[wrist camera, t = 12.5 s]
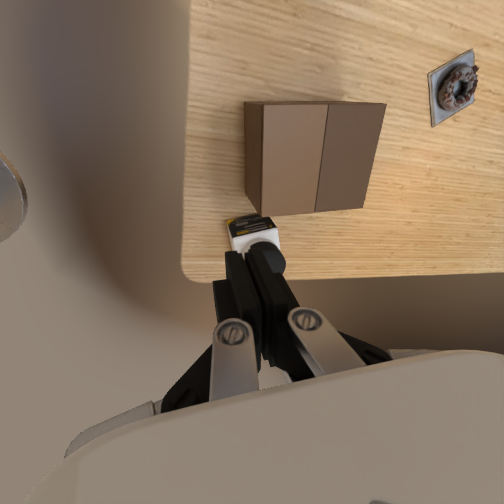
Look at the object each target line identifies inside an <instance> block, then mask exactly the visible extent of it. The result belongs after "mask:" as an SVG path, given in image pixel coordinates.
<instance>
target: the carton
mask: <svg viewBox="0 0 504 504" xmlns="http://www.w3.org/2000/svg"><path fill="white" fill-rule="evenodd" d="M301 104H328V110H327V118H326V126H325V133H324V141H323V148H322V156H321V164H320V171H319V179H318V186H317V194H316V202H315V209H314V212H325V211H336V210H347V209H358V208H363V204H364V200H365V196H366V191H367V187H368V183H369V178H370V174H371V170H372V166H373V161H374V157H375V153H376V148H377V144H378V140H379V135H380V131H381V127H382V122H383V118H384V114H385V109H386V105H387V104H383V103H368V102H348V101H286V102H244V137H245V193H246V195H247V196H248V198H249V200H250V201H251V203H252V204H253V206H254V207H255V209H256V211H257V212H258V214H259V215H261V189H262V139H263V105H301Z"/></svg>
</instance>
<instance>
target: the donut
mask: <svg viewBox="0 0 504 504" xmlns="http://www.w3.org/2000/svg"><path fill="white" fill-rule="evenodd" d="M474 57H475V56H474V51H473V49H470V50H469V51H467V52H465V53H463V54H462V55H460V56H458V57H456V58H455V59H453V60H451V61H449V62H448V63H446V64H445V65H443V66H441V67H439V68H437V69H436V70H434V71H433V72H431V73H429V74H428V83H429V87H430V88H429V89H430V106H431V116H432V128H433V127H435V126H436V125H437V124H439V123H441V122H443V121H444V120H446V119H447V118H449V117H451V116H452V115H454V114H455V113H457V112H458V111H460V110H462V109H463V108H465V107H467V106H468V105H470V104H473V102H474V101H475V99H474V92H475V89H476V87H477V82H478V80H477V76H478V75H476V72H477V71H478V69H479V68H477V66H476V65H475V64H474V62H475V60H474V59H475V58H474ZM474 65H475V66H474Z"/></svg>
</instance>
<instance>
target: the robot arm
mask: <svg viewBox="0 0 504 504" xmlns="http://www.w3.org/2000/svg"><path fill="white" fill-rule="evenodd" d="M225 264H226V279H224V280H217V281H213V292H214V300H215V308H216V315H217V321H218V324H217V326H216V327H215V329H214V332H213V343H212V344H211V345H210V347H209V348H208V349H207V350H206V351H205V352H204V353H203V354H202V355H201V356H200V357H199V358H198V360H197V361H196V362H195V363H194V364H193V365H192V366H191V367H190V368H189V369H188V370H187V371H186V373H185V374H184V375H183V376H182V377H181V378H180V379H179V380H178V381H177V382H176V383H175V385H174V386H173V387H172V388H171V389H170V390H169V391H168V392H167V394H166V395H165V397H164V398H163V399H162V400H160V401H157V402H155V403H153V402H152V401H149V402H147V403H145V404H143V405H140V406H138V407H135V408H133V409H131V410H129V411H126V412H124V413H122V414H120V415H117V416H115V417H113V418H110V419H108V420H106V421H104V422H101V423H99V424H97V425H95V426H92V427H90V428H88V429H86V430H85V431H83V432H81V433H80V434H79V435H78V436H77V437H76V438H75V439H74V440H73V441H72V442H71V444H70V445H69V447H68V449H67V450H66V453H65V456H64V459H63V460H62V461H61V462H60V463H58V464H57V465H56V466H54V467H53V468H52V469H51V470H50V471H49V472H48V473H47V474H45V475H44V476H43V477H42V478H41V480H40V481H39V482H38V483H37V484H36V485H35V486H34V488H33V489H32V490H31V492H30V493H29V494H28V496H27V497H26V499H25V500H24V502H23V504H504V355H501V354H496V353H492V352H485V351H478V350H451V351H438V350H401V349H400V350H399V349H388V351H387V352H385V351H383V350H381V349H380V348H378V347H376V346H373V345H371V344H368V343H366V342H364V341H361V340H359V339H356V338H354V337H351V336H349V335H347V334H344V333H342V332H339V331H337V330H336V329H335V328H334V327H333V326H332V325H331V324H330V322H329V321H328V320H327V319H326V318H325V317H324V316H323V314H322V313H320V312H319V311H318V310H316V309H314V308H311V307H303V306H302V307H300V305H299V304H298V302H297V300H296V298H295V296H294V295H293V293H292V291H291V289H290V288H289V286H288V284H287V282H286V280H285V279H284V277H283V275H282V274H281V272H275V273H273V271H272V269H271V267H270V265H269V264H268V262H267V260H266V258H265V256H264V254H263V252H262V250H261V248H253V249H248V252H245V253H244V258H243V255H242V253H238V252H237V251H228V252H225ZM261 353H262V356H263V359H264V360H268V361H269V364H270V367H274V366H276V367H278V368H280V369H282V370H283V375H284V378H285V380H286V382H287V383H288V384H284V385H280V386H276V387H271V388H267V389H262V390H259V382H258V373H259V371H260V368H261Z"/></svg>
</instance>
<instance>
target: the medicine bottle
mask: <svg viewBox="0 0 504 504" xmlns="http://www.w3.org/2000/svg"><path fill="white" fill-rule="evenodd" d="M226 224H227V228H228V233H229V238H230V242H231V247H232V251H237V252H238V253H242V255H243V258H244V253H245V252H248V249H253V248H261V250H262V252H263V254H264V256H265V258H266V260H267V262H268V264H269V265H270V267H271V269H272V271H273V273H275V272H281V274H283V272H284V270H285V267H286V261H285V258H284V257H283V255H282V253H281V252H280V245H279V235H278V228H277V227H276V225H275V224H274V223H273V221H272V220H271V218H270V217H261V215H259V214H258V213H256V214H252V215H247V216H243V217H239V218H235V219H230V220H227V221H226Z"/></svg>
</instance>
